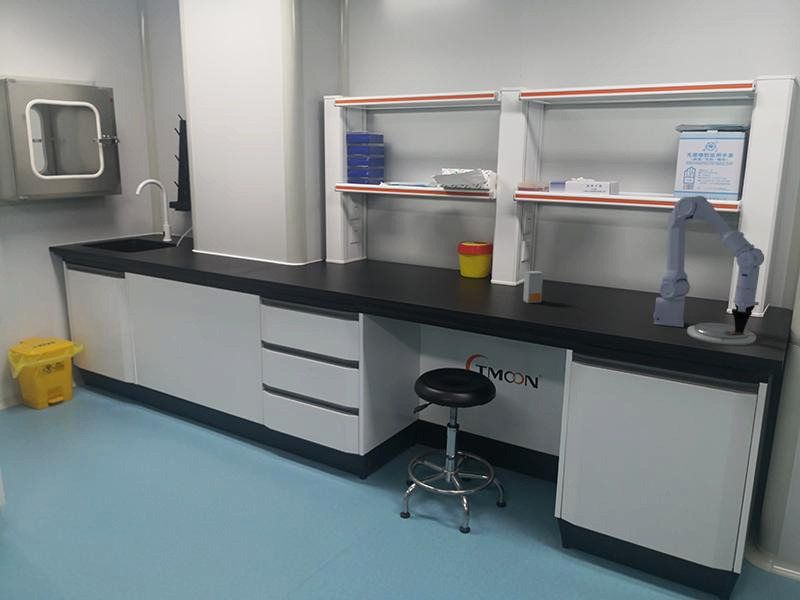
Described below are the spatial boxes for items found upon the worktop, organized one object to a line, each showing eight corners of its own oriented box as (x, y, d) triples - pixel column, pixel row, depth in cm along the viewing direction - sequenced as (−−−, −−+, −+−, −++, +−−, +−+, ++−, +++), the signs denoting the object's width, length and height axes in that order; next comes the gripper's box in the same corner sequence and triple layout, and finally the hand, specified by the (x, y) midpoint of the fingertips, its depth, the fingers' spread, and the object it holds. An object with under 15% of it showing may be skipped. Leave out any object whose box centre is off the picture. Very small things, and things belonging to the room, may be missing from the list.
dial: (683, 329, 212) (685, 312, 210) (713, 322, 219) (715, 306, 218) (729, 341, 198) (731, 323, 197) (759, 334, 206) (762, 316, 205)
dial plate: (687, 340, 204) (688, 336, 204) (686, 325, 222) (687, 321, 222) (759, 348, 196) (759, 344, 196) (752, 331, 214) (752, 327, 214)
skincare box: (527, 303, 253) (529, 273, 250) (522, 300, 257) (524, 271, 254) (541, 302, 254) (543, 272, 251) (536, 299, 258) (538, 270, 255)
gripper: (759, 293, 194) (752, 336, 197) (762, 285, 206) (756, 325, 209) (733, 290, 198) (727, 332, 201) (738, 282, 210) (732, 322, 213)
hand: (740, 329), depth 205 cm, fingers open, 7 cm apart
